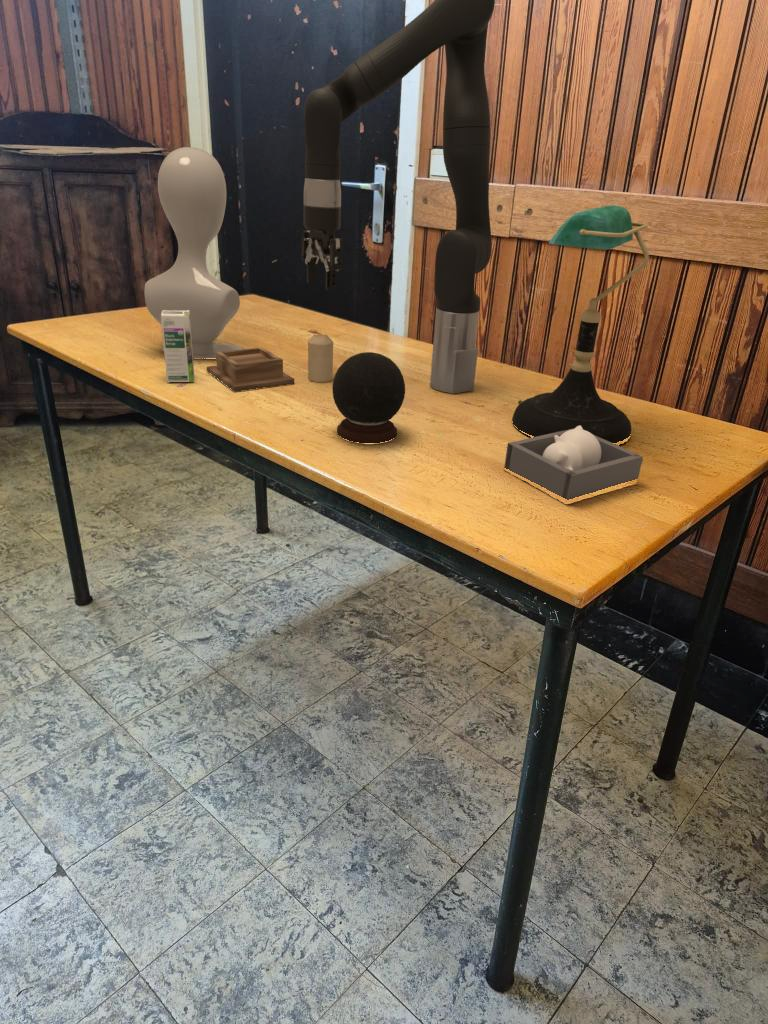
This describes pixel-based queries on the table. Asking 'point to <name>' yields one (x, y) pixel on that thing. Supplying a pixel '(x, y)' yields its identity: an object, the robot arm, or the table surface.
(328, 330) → the table surface
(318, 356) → the candle
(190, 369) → the syrup box
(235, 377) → the display pedestal
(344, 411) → the black crystal ball
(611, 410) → the banker's lamp
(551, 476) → the figurine tray
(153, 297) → the mannequin bust
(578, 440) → the cat figurine
